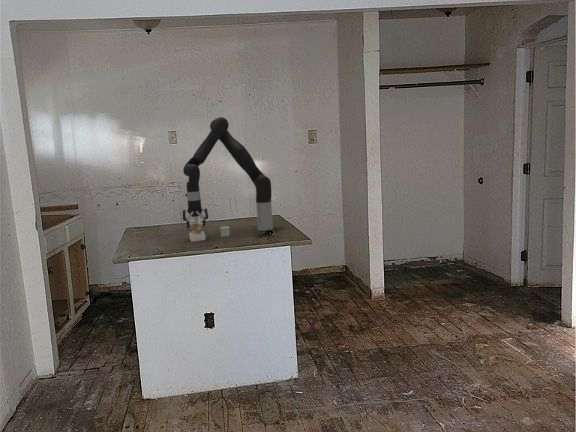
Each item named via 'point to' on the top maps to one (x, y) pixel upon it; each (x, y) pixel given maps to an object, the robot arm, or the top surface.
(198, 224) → the oak block
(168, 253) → the top surface
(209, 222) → the top surface
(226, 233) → the sage block
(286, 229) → the top surface
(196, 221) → the pipe connector
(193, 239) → the white base
